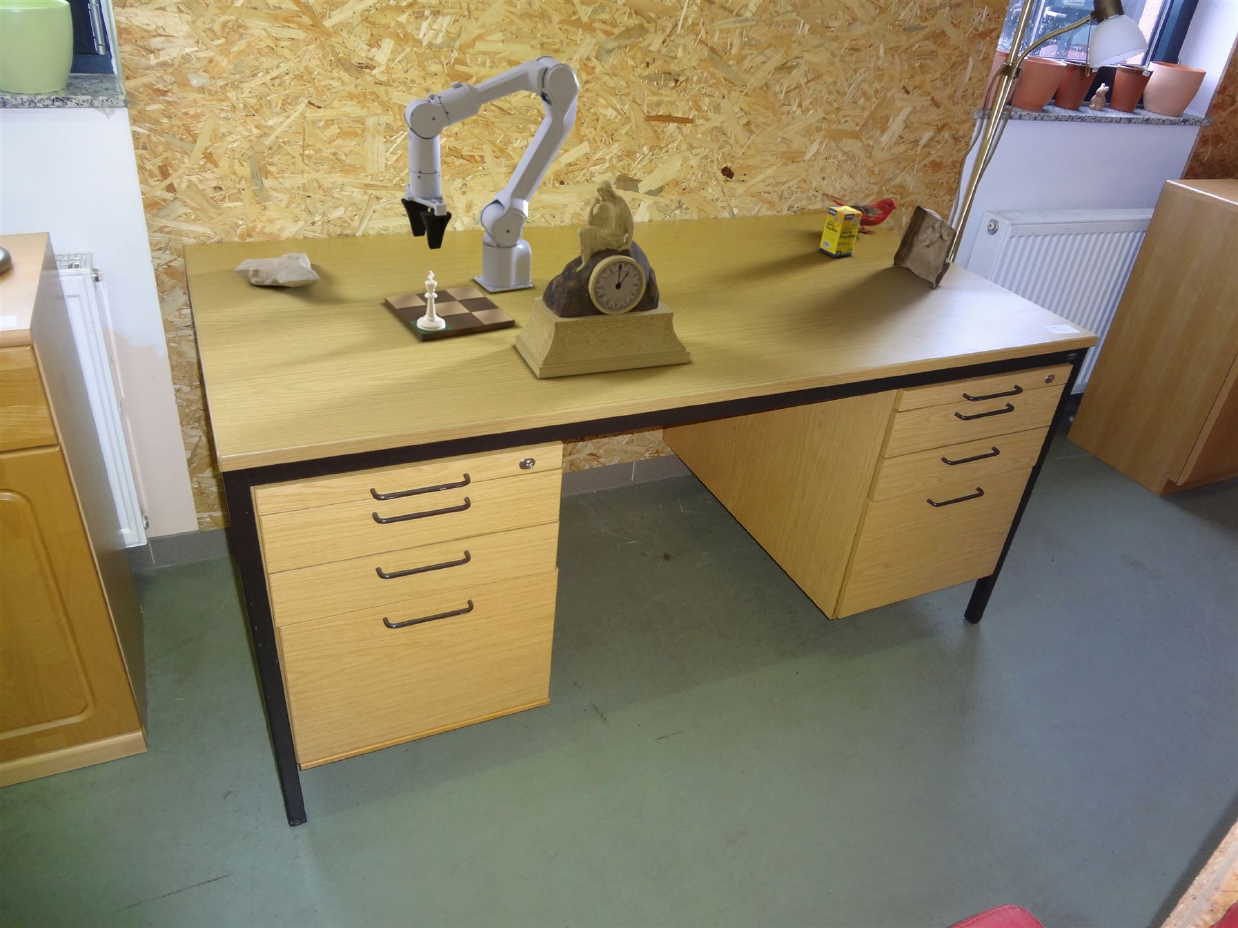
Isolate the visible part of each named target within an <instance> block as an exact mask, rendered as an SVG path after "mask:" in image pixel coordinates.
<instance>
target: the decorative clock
mask: <svg viewBox="0 0 1238 928" xmlns="http://www.w3.org/2000/svg"><path fill="white" fill-rule="evenodd" d="M596 191H597V195H596V196H595V198H593V201H592V202H591V204H590V206H589V209H588V213H587V217H586V224H587V225H582V226H580V227H579V228H577V240H578V254H580V255H579V256H577V257H575V258H574V259H572V260H570V261H569V262H567V264H565V266H564V268H563V269H562V271H561V273H559V274H558V275H555V276H554V277H553V278H552V279H551V280H550V281H549V282H548V283H547V286H546V287H545V290H544V291H543V294H542V296H541V297H534V298H533V307H532V312H531V315H530V317H529V319H528V321H527V323H526V324H525V325H524V326H523V327H522V328H521V330H519V332H518V334H517V335H515V339H514V347H515V349H516V350H517V351H518V352H519V353H520V355H521V357H522V358H523V359H524V360H525V362H526V363H527V364H528V366H529V367H530V369H531V370H532V372H533V373H534V374H535V375H536V377H537V379H549V378H556V377H567V376H575V375H576V376H577V375H584V374H585V375H586V374H593V373H594V374H595V373H603V372H612V371H622V370H631V369H640V368H651V367H659V366H660V367H661V366H669V365H678V364H688V363H689V362H690V356H691V351H690V350H689V349H688V348H687V347H685V345H684V344H683V343H682V342H681V341H680V340H679V338H678V335H677V333H676V331H675V329H674V314H675V312H674V311H673V310H672V309H670V307H668V306H667V305H666V304H665V303H664V302H662V301H661V300H660V290H659V286H658V281H657V277H656V273H655V270H654V268H653V267H652V266H651V264H650V262H649V259H648V256H647V255H646V253H645V252H644V251H643V249H642V248H641V246H640V245H638V243H637V242H636V241H634V240H633V239H634V235H635V232H636V225H635V220H634V214H633V211H632V208H631V206H630V204H629V202H628V200H627V199H626V198H624V197H623V196H621V195H620V194H619V193H617V191H616V190H615V186H614V183H613V182H612V181H611V180H609V179H602V180H601V181H599V183H598V184H597V187H596ZM599 196H600V197H601V200H600V198H599ZM597 205H598V206H597ZM596 206H597V208H596V210H595V211H594V209H595V207H596Z"/></svg>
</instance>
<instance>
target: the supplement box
mask: <svg viewBox="0 0 1238 928" xmlns="http://www.w3.org/2000/svg"><path fill="white" fill-rule="evenodd" d="M848 206H849V205H848ZM848 206H843V207H841V206H829V207H828V209H827V214H826V218H825V222H824V227H823V232H822V235H821V239H820V244H819V251H821V252H823V253H825V254H827V255H828V256H831V257H833V258H837V257H849V256H850V257H851V256H852V254H853V251H854V246H855V242H856V239H857V235H858V230H859V229H858V228H859V227H860V224H859V222H860V219H861V215H862V212H860V211H857V210H855V209H852V208H850V207H848Z"/></svg>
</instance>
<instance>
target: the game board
mask: <svg viewBox="0 0 1238 928" xmlns="http://www.w3.org/2000/svg"><path fill="white" fill-rule="evenodd" d="M426 293H428V291H426V292H419V293H408V294H400V295H393V296H386V297H384V304H385V305H386V307H388V308H389V309H390V310H391V312H392V313H393V314H394V315H396V316H397V318H398V319H400V320H401V322H403V324H405V326H407V328H408V329H409V330H410V331H411V332H412V333H413V334H414V335H415V336H416V337H417V338H418V339H419V340H420V341H421V342H425V341H431V340H438V339H444V338H450V337H451V338H452V337H457V336H462V335H469V334H476V333H482V332H487V331H494V330H499V329H500V330H501V329H506V328H511V327H515V319H513V318H512V317H511V316H510V315H508V313H506V312H505V311H504V310H502V309H501V308H500V307H499V306H497V305H496V304H495V303H494V302H493V301H491V300H490V299H489V298H488V297H486V296H485V295H484V294H483V293H482V292H481V291H479V290H478V289H477V288H475V287H474V286H473V285H468V286H462V287H454V288H448V289H447V288H446V289H442V290H435V291H434V293H436V294H437V297H436V298H434V306H435V313H436V315H437V316H438V317H440V318H442V319H443V320H444V321H445V327H444V328H443V329H441V330H437V331H426V330H422V329H420V328H419V327H418V326H417V321H418V319H419V318H421V317H424V316H425V315H426V313H427V305H428V298H426V297H425V294H426Z"/></svg>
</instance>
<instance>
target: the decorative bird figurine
mask: <svg viewBox="0 0 1238 928" xmlns="http://www.w3.org/2000/svg"><path fill="white" fill-rule="evenodd" d="M832 202H833V203H834V204H836V205H838V207H843V206H848V207H850V208H852V209H855V210H857V211H860V212H862V215H861V219H860V222H859V227H858V230H860V231H863V232H866V233H875V234H876V232H875V231H874V230H873V231H872V230H871V229H868V228H866V227H874V226H877V225H880V224H882V223H884V222H885V221H886V220H887V219H888V217H889V216H890V215H891V214H892V213H893V211H894V210H898V206H897V205H896V203H895V200H894V199H893V198H891V197H890V198H889V197H888V198H884V199H881V200H879V201H877V202H875V203H859V204H852V205H847V204H845V203H842V202H839V201H837V200H835V199H833V200H832Z"/></svg>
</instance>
